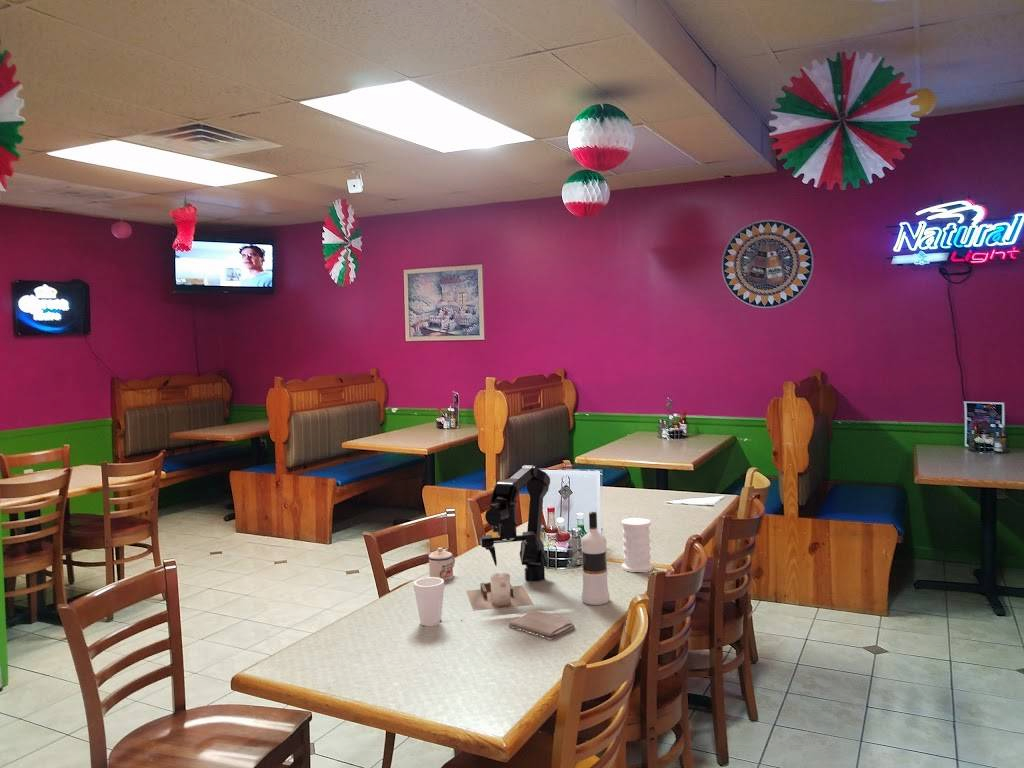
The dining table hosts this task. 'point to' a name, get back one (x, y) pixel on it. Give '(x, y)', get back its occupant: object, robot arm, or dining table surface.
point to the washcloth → (543, 624)
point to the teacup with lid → (441, 564)
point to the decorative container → (636, 545)
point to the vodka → (594, 565)
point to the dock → (483, 597)
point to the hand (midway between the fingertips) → (509, 564)
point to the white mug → (500, 589)
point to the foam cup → (429, 599)
